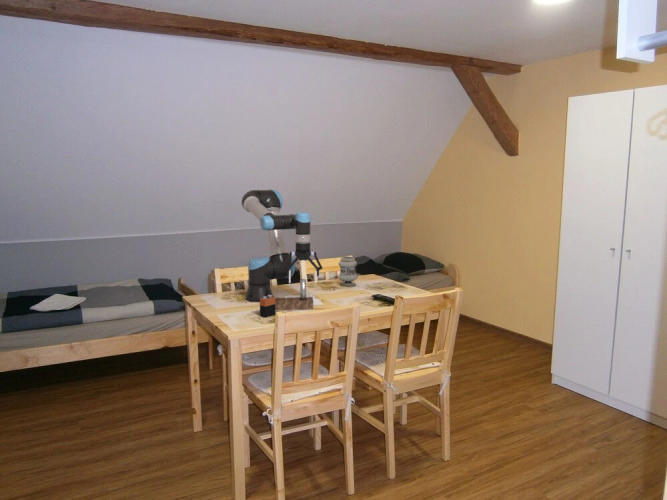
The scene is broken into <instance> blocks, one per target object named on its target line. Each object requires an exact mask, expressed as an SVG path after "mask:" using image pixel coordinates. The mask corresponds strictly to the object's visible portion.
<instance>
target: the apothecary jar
mask: <svg viewBox="0 0 667 500" xmlns="http://www.w3.org/2000/svg"><path fill="white" fill-rule="evenodd" d="M355 259H356V258H355V256H341V259H340V260H339V262H338V266H339V268H340V273H339V274H338V279H339V281H342V283H340V284H339V285H340V287H344V288H353V287H355V286H357V285H356V283H354V281H356V280H357V279H358V274H357V272H356V271H357V270H356V267H357V266H358V262H357V260H355Z"/></svg>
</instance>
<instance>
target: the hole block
mask: <svg viewBox="0 0 667 500" xmlns="http://www.w3.org/2000/svg"><path fill="white" fill-rule="evenodd" d="M306 310H307V311H308V310H309V311H310V310H314V298H313V296H306V300H301V296H299V297H297V296H295V297H292V296H291V297H289V296H288V297H275V311H306Z"/></svg>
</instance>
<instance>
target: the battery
mask: <svg viewBox="0 0 667 500" xmlns="http://www.w3.org/2000/svg"><path fill="white" fill-rule="evenodd" d="M275 298H276V297H275V296H273V297H272V295H268V296H267V297H266V296H264V297H263V298H260V302H259V315H260V316H259V317H262V318H264V319H265V318H268V317H269V318H270V317H272V316H276V310H275Z"/></svg>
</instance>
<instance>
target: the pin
mask: <svg viewBox="0 0 667 500" xmlns="http://www.w3.org/2000/svg"><path fill="white" fill-rule="evenodd" d="M299 283H300V284H299V286H300V289H299V290H300V297H301V300H306V297H307V279H306V278H300V279H299Z"/></svg>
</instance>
